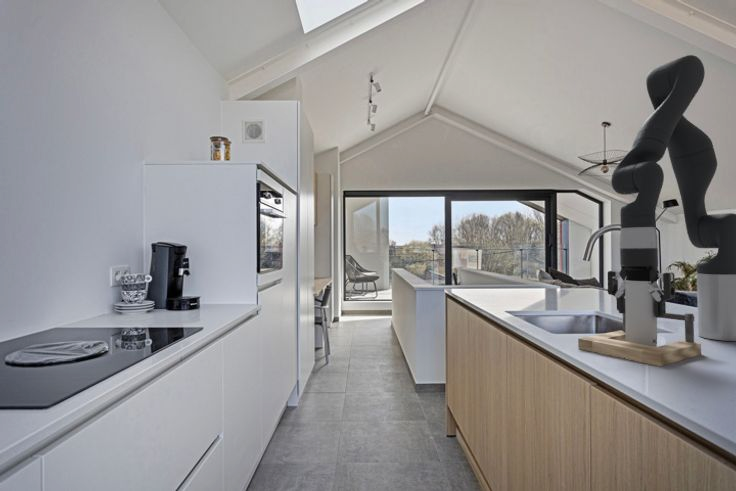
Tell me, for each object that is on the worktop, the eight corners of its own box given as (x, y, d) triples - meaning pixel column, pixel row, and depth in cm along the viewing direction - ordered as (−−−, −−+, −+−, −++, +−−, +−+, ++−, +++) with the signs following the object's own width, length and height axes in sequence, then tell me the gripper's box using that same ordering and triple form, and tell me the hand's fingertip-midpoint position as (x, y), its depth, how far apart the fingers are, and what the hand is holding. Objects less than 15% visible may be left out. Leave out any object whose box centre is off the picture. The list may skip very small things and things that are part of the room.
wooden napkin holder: (620, 339, 108) (619, 306, 109) (702, 354, 93) (700, 314, 93) (578, 348, 99) (577, 312, 100) (660, 366, 84) (659, 322, 84)
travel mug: (664, 354, 93) (663, 267, 93) (632, 352, 94) (631, 266, 95) (651, 348, 99) (650, 266, 99) (621, 346, 100) (620, 266, 101)
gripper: (680, 246, 93) (682, 317, 92) (616, 247, 105) (618, 310, 105) (664, 246, 89) (666, 321, 89) (599, 247, 101) (601, 312, 101)
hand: (640, 315), depth 97 cm, fingers open, 7 cm apart
